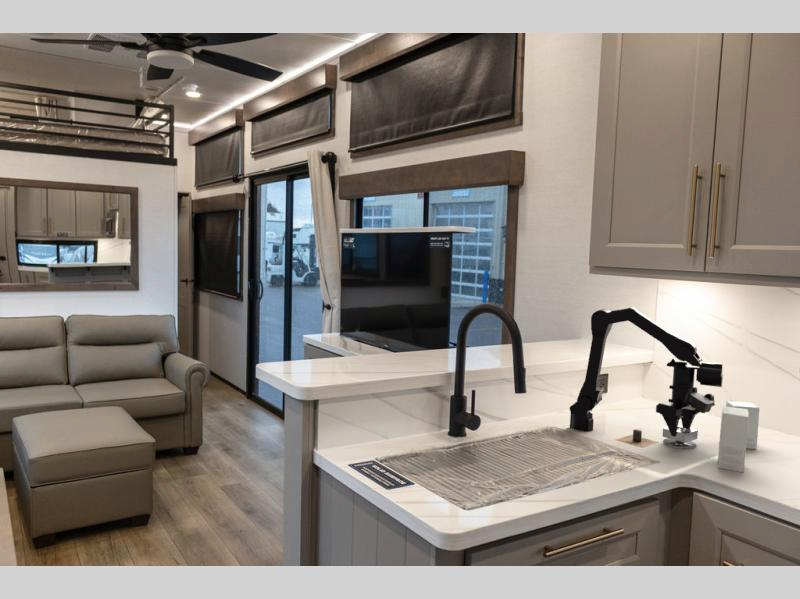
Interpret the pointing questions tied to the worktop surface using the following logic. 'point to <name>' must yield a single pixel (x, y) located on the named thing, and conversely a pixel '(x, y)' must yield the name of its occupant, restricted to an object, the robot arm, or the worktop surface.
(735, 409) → the skincare box
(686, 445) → the hub
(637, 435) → the stand
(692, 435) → the collar
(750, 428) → the supplement box
